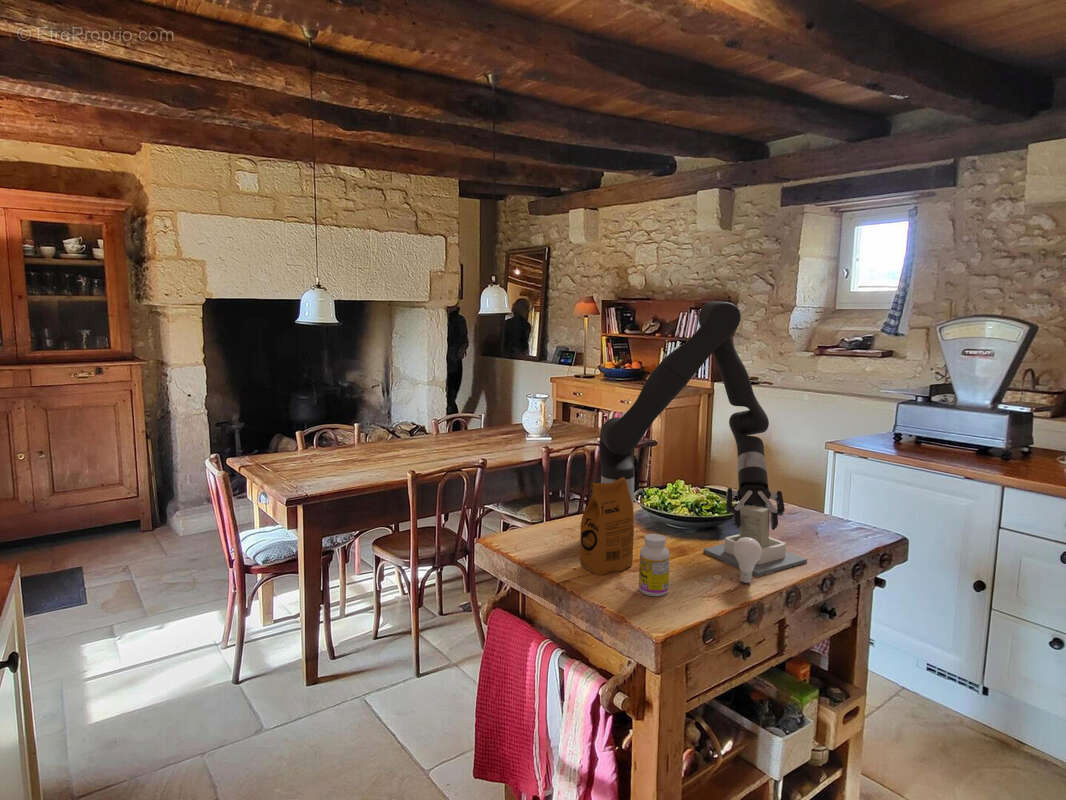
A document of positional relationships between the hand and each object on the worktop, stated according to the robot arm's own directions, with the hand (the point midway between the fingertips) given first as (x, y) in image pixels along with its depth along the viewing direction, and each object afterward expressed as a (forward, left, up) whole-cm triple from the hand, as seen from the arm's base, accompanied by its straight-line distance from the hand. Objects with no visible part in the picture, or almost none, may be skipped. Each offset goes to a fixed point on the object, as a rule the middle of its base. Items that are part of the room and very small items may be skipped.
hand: (756, 527), depth 167 cm
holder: (+1, +1, -8) cm, 9 cm away
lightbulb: (-13, -9, -9) cm, 18 cm away
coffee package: (-36, +15, -9) cm, 40 cm away
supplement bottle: (-35, -2, -9) cm, 36 cm away
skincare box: (+1, +1, -8) cm, 8 cm away
